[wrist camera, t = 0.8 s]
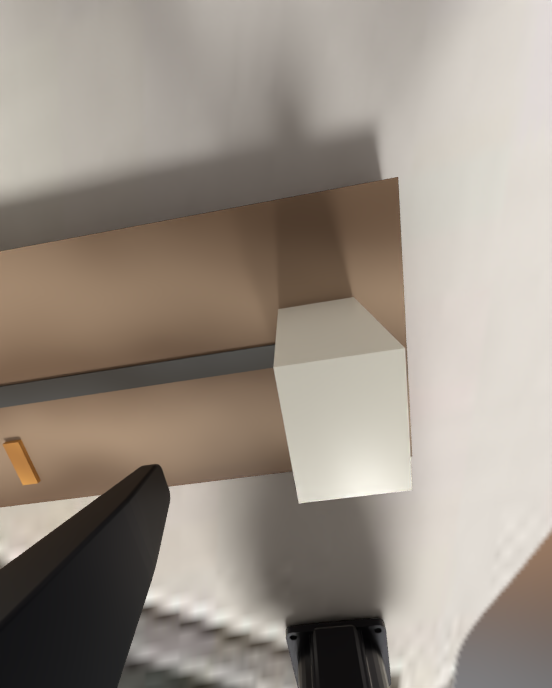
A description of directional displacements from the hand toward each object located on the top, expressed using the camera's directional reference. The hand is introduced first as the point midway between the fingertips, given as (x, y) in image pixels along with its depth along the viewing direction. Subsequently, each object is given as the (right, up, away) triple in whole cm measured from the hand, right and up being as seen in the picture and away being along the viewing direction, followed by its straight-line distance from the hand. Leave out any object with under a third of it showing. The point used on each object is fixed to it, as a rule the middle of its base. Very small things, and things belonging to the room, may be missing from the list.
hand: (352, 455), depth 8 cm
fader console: (-9, +2, +9) cm, 13 cm away
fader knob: (0, +2, +6) cm, 7 cm away
